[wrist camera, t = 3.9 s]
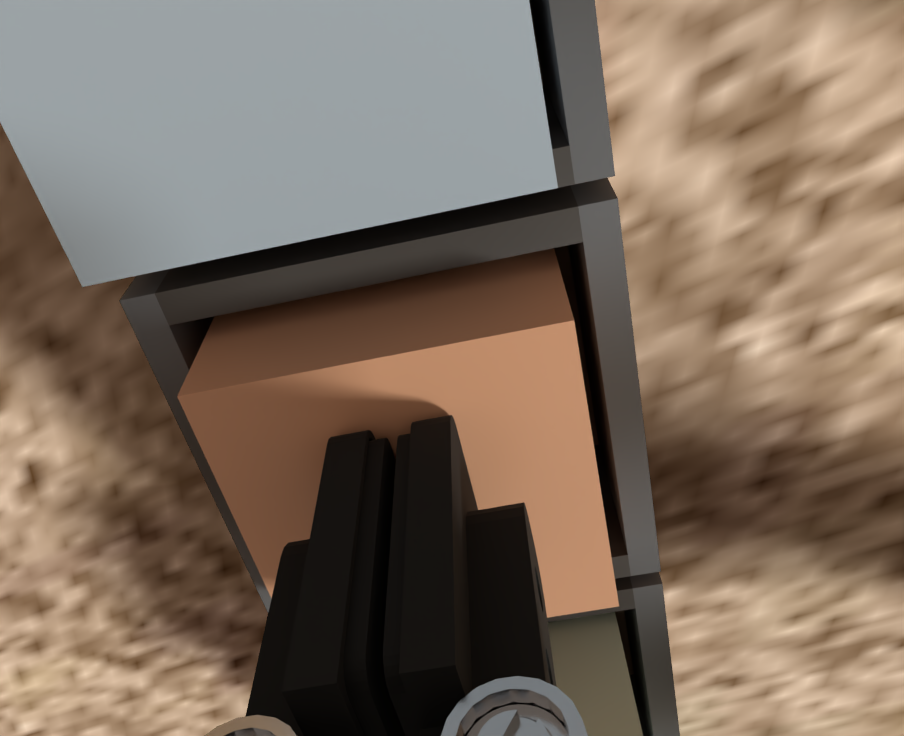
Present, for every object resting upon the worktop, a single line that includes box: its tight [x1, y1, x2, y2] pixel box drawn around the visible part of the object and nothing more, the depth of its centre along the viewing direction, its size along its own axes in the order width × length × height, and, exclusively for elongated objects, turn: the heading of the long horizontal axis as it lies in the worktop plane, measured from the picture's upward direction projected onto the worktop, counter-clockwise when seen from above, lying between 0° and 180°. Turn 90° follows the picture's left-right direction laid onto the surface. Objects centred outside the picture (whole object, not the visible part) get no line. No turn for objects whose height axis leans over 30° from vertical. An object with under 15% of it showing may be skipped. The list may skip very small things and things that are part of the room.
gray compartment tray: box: [120, 0, 680, 736], centre depth 14 cm, size 24×7×4 cm, turn 12°
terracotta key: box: [177, 248, 619, 618], centre depth 13 cm, size 5×5×4 cm
